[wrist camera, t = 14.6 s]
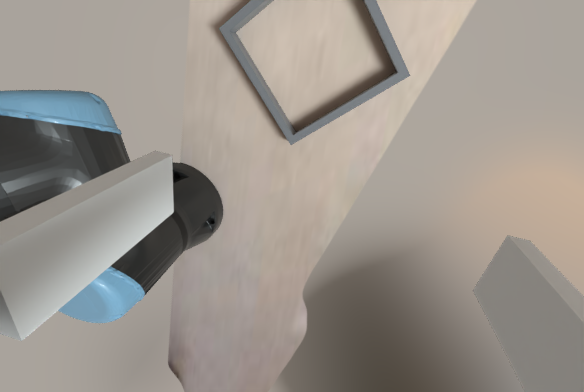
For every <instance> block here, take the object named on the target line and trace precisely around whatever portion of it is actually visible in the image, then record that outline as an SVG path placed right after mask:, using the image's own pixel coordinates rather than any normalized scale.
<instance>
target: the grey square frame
mask: <svg viewBox="0 0 584 392" xmlns="http://www.w3.org/2000/svg"><path fill="white" fill-rule="evenodd" d="M272 1H273V0H251V1H249V2H248V3H247V4H246V5H245V6H244V7H243V8H242V9H240V10H239V11H238V12H237V13H236V14H235V15H234V16H233V17H231V18H230V19H229V20H228V21H227V22H226V23H225V24H224V25H222V26H221V27H220V28H219V30H220V31H221V33H222V35H223V36H224V38H225V39H226V41H227V43H228V44H229V46H230V48H231V49H232V51H233V52H234V54H235V56H236V57H237V59H238V60H239V62H240V64H241V65H242V67H243V69H244V70H245V72H246V73H247V75H248V77H249V78H250V80H251V81H252V83H253V85H254V86H255V88H256V90H257V91H258V93H259V94H260V96H261V98H262V99H263V101H264V103H265V104H266V106H267V107H268V109H269V111H270V112H271V114H272V115H273V117H274V119H275V120H276V122H277V124H278V125H279V127H280V128H281V130H282V132H283V133H284V135H285V136H286V138H287V140H288V141H289V143H290V145H292V144H294V143H295V142H297V141H299V140H300V139H302V138H304V137H306V136H307V135H309V134H311V133H312V132H314V131H316V130H318V129H319V128H321V127H323V126H324V125H326V124H328V123H330V122H331V121H333V120H335V119H336V118H338V117H340V116H342V115H343V114H345V113H347V112H348V111H350V110H352V109H354V108H355V107H357V106H359V105H361V104H362V103H364V102H366V101H367V100H369V99H371V98H373V97H374V96H376V95H378V94H379V93H381V92H383V91H385V90H386V89H388V88H390V87H391V86H393V85H395V84H397V83H398V82H400V81H402V80H403V79H405V78H407V77H409V76H410V74H409V72H408V70H407V67H406V65H405V63H404V61H403V59H402V56H401V54H400V52H399V50H398V48H397V45H396V43H395V41H394V39H393V37H392V34H391V32H390V30H389V28H388V26H387V23H386V21H385V19H384V17H383V15H382V12H381V10H380V8H379V6H378V4H377V1H376V0H363V1H364V4H365V6H366V8H367V10H368V12H369V14H370V16H371V19H372V21H373V23H374V25H375V27H376V29H377V32H378V34H379V36H380V38H381V40H382V42H383V44H384V47H385V49H386V51H387V53H388V55H389V57H390V59H391V62H392V64H393V66H394V68H395V70H396V72H395V73H394V74H392V75H390V76H389V77H387V78H385V79H384V80H382V81H380V82H379V83H377V84H375V85H374V86H372V87H370V88H369V89H367V90H365V91H364V92H362V93H360V94H359V95H357V96H355V97H354V98H352V99H350V100H349V101H347V102H345V103H344V104H342V105H340V106H339V107H337V108H335V109H334V110H332V111H330V112H329V113H327V114H325V115H324V116H322V117H320V118H319V119H317V120H315V121H314V122H312V123H310V124H309V125H307V126H305V127H304V128H302V129H300V130H299V131H297V132H295V130H294V128H293V127H292V125H291V123H290V122H289V120H288V118H287V117H286V115H285V113H284V112H283V110H282V108H281V107H280V105H279V103H278V102H277V100H276V99H275V97H274V95H273V94H272V92H271V90H270V89H269V87H268V85H267V84H266V82H265V80H264V79H263V77H262V75H261V74H260V72H259V70H258V69H257V67H256V65H255V64H254V62H253V60H252V59H251V57H250V55H249V54H248V52H247V51H246V49H245V47H244V46H243V44H242V42H241V41H240V39H239V37H238V36H237V34H236V32H237V31H238V30H239V29H240V28H242V27H243V26H244V25H245V24H246V23H247V22H249V21H250V20H251V19H252V18H253V17H254V16H256V15H257V14H258V13H259V12H260V11H261V10H263V9H264V8H265V7H266V6H267V5H269V4H270V3H271V2H272Z"/></svg>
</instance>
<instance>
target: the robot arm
mask: <svg viewBox="0 0 584 392" xmlns="http://www.w3.org/2000/svg"><path fill="white" fill-rule="evenodd" d="M222 217H223V205H222V201H221V198H220V195H219V193H218V191H217V190H216V188H215V186H214V185H213V184H212V182H211V181H210V180H209V179H208V178H207V177H206V176H205V175H203V174H202V173H201V172H199V171H198V170H196V169H194V168H193V167H190V166H188V165H185V164H181V163H172V155H170V154H166V153H161V152H158V151H153V152H151V153H149V154H147V155H145V156H143V157H141V158H138V159H136V160H134V161H132V162H130V159H129V157H128V154H127V151H126V148H125V146H124V143H123V140H122V138H121V131H120V130H119V129H118V128H117V126H116V124H115V121H114V119H113V117H112V115H111V112H110V110H109V108H108V106H107V104H106V103H105V102H104V100H102V99H101V98H100V97H99V96H97V95H95V94H92V93H89V92H83V91H62V90H59V91H58V90H19V91H0V334H2V335H5V336H8V337H11V338H14V339H17V340H20V341H22V340H24V339H25V338H26V337H27V336H28V335H30V333H32V332H33V331H34V330H35V329H37V328H38V327H39V326H40V325H41V324H42V323H44V322H45V321H46V320H47V319H48V318H50V317H51V316H52V315H53V314H54V313H55V312H57V311H60V312H62V313H64V314H66V315H68V316H70V317H73V318H76V319H79V320H82V321H86V322H92V323H107V322H112V321H114V320H117V319H119V318H120V317H122V316H123V315H124V314H125V313H126V312H128V311H129V310H130V309H131V308H132V307H133V306H134V305H135V304H136V303H137V302H138V301H140V300H142V298H143V297H144V296H145V294H146V293H147V292H148V291H149V290H150V289H151V287H152V286H153V285H154V284H155V283H156V282H157V281H158V280H159V279H160V277H161V276H162V275H163V274H164V273H165V272H166V270H167V269H168V268H169V267H170V266H171V265H172V264H173V263H174V262H175V260H176V259H177V258H178V257H179V256H180V255H181V254H182V253H183V252H184V251H185V250H188V249H190V248H192V247H194V246H196V245H198V244H200V243H202V242H204V241H206V240H207V239H208V238H210V237H211V236H212V235H213V233H214V232H215V231H216V230H217V229H218V227H219V226H220V224H221V221H222ZM473 292H474V293H475V296H476V297H477V300H478V302H479V303H480V305H481V307H482V309H483V311H484V313H485V315H486V317H487V319H488V321H489V323H490V325H491V327H492V329H493V331H494V333H495V335H496V337H497V339H498V341H499V342H500V344H501V346H502V348H503V350H504V352H505V354H506V356H507V358H508V360H509V362H510V364H511V366H512V368H513V370H514V372H515V374H516V375H517V378H518V380H519V381H520V383H521V386H522V387H523V389H524V391H525V392H584V296H583V295H582V294H581V293H580V292H579V291H578V290H577V289H576V288H575V287H574V286H573V285H572V284H571V283H570V282H569V281H568V280H567V279H566V278H565V277H564V275H563V274H562V273H561V272H560V271H558V269H557V268H556V267H555V266H554V265H553V264H552V263H551V262H550V261H549V260H548V259H547V258H546V257H545V256H544V255H543V254H542V253H541V252H540V251H539V250H538V249H537V248H536V247H535V245H534V244H533V243H532V242H531V241H529V240H525V239H521V238H517V237H513V236H507V237H506V239H505V240H504V242H503V243H502V245H501V247H500V248H499V250H498V251H497V253H496V254H495V256H494V258H493V259H492V261H491V262H490V264H489V265H488V267H487V269H486V270H485V272H484V273H483V275H482V277H481V278H480V280H479V281H478V283H477V285H476V286H475V288H474V289H473Z"/></svg>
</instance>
